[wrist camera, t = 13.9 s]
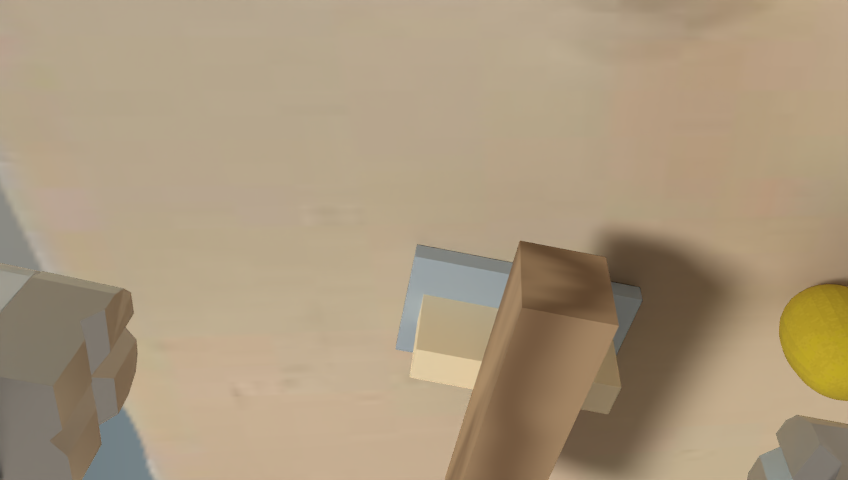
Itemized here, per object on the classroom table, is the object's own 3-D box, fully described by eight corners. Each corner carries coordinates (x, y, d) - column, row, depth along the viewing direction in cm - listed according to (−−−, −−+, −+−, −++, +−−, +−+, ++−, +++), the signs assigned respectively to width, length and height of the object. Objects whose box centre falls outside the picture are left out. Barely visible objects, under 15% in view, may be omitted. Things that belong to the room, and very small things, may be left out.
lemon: (821, 337, 46) (872, 440, 39) (744, 310, 45) (784, 410, 38) (882, 275, 42) (950, 376, 36) (801, 245, 42) (855, 342, 35)
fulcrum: (639, 287, 45) (656, 357, 40) (599, 374, 49) (609, 446, 44) (417, 244, 44) (406, 310, 39) (397, 336, 49) (386, 405, 44)
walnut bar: (606, 257, 36) (618, 325, 32) (510, 489, 48) (510, 560, 44) (519, 240, 36) (521, 307, 32) (445, 477, 48) (439, 547, 44)
